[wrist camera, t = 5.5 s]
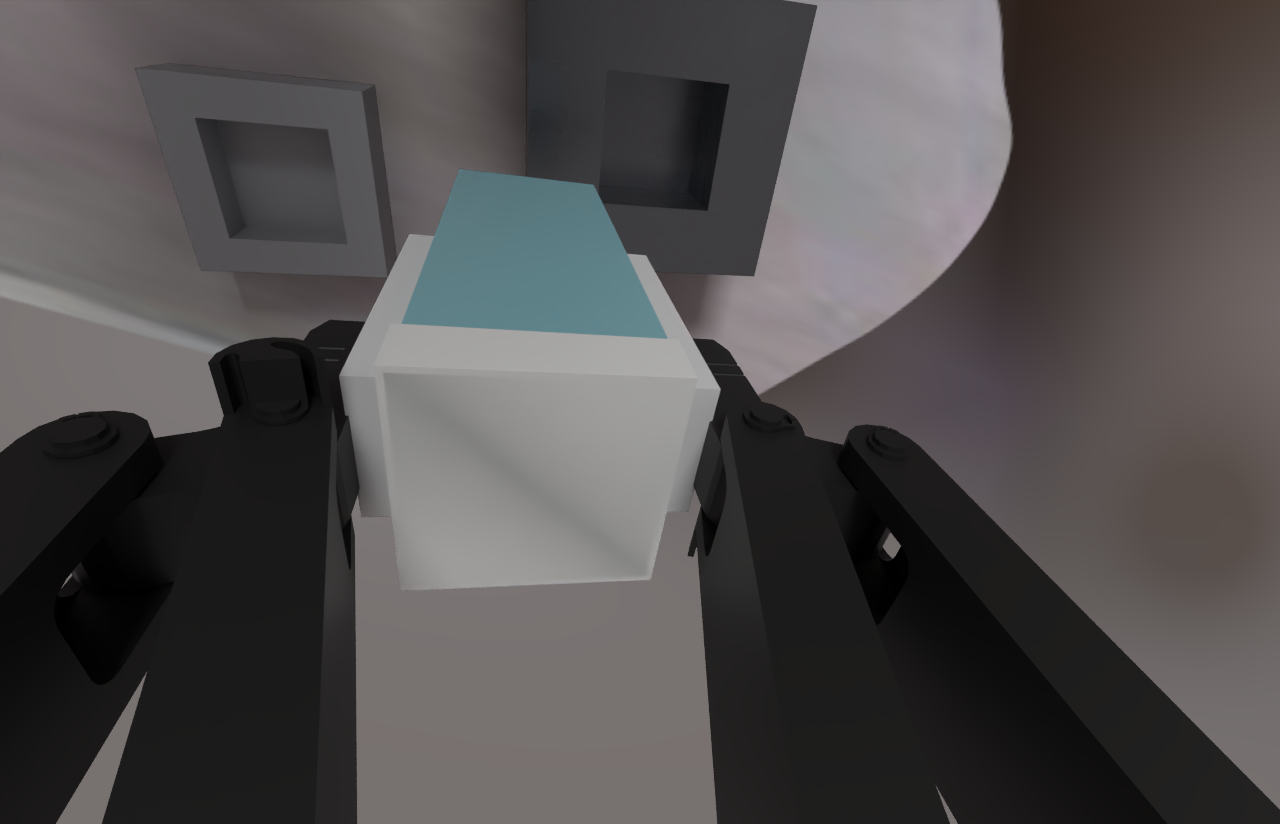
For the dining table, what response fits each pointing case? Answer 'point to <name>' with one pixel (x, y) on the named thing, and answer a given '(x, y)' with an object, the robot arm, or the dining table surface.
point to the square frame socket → (274, 170)
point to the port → (668, 117)
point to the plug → (529, 397)
